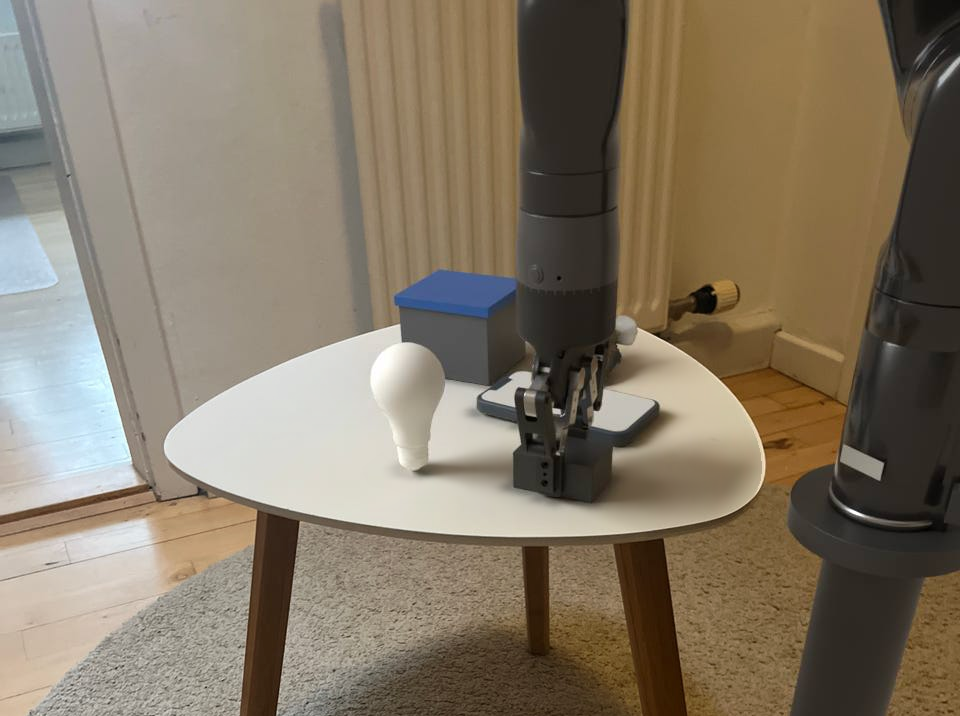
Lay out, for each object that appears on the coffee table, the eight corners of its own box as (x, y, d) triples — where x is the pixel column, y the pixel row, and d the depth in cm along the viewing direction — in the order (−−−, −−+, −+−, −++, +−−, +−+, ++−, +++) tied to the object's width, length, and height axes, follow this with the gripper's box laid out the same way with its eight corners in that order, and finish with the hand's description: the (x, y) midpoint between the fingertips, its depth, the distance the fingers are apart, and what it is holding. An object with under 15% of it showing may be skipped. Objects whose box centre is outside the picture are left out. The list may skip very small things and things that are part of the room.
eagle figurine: (563, 340, 106) (527, 352, 99) (603, 286, 102) (568, 294, 95) (613, 388, 105) (581, 403, 98) (656, 336, 101) (625, 348, 94)
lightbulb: (408, 447, 89) (399, 326, 82) (463, 464, 86) (458, 339, 79) (364, 474, 85) (351, 349, 78) (420, 492, 82) (411, 364, 75)
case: (611, 479, 83) (613, 444, 81) (591, 503, 79) (592, 467, 77) (535, 464, 85) (535, 430, 83) (512, 487, 82) (512, 452, 80)
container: (529, 355, 106) (529, 279, 101) (490, 387, 99) (488, 308, 94) (443, 342, 110) (439, 269, 105) (399, 372, 103) (393, 295, 98)
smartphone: (663, 416, 93) (517, 382, 100) (665, 400, 92) (517, 367, 99) (623, 453, 87) (470, 414, 94) (624, 436, 86) (470, 398, 93)
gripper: (577, 306, 65) (571, 529, 76) (647, 250, 76) (633, 453, 86) (477, 293, 68) (484, 510, 78) (557, 241, 78) (554, 438, 89)
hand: (562, 479), depth 82 cm, fingers closed on case, 4 cm apart
